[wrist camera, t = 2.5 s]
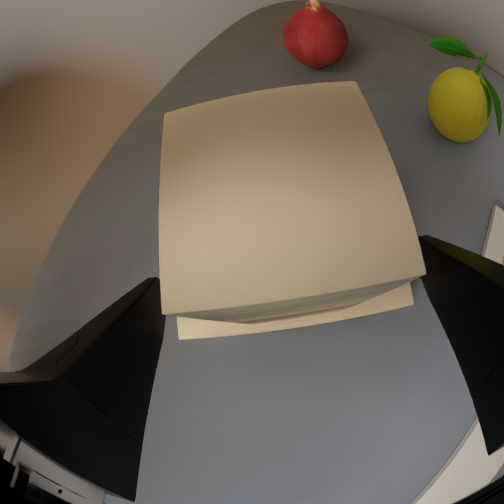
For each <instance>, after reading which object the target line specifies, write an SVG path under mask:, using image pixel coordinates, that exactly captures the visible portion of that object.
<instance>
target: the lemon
mask: <svg viewBox="0 0 504 504" xmlns="http://www.w3.org/2000/svg"><path fill="white" fill-rule="evenodd" d="M428 45H430V46H432V47H433V48H435V49H437V50H439V51H441V52H444V53H446V54H449V55H452V56H456V57H460V58H464V59H473V58H478V59H481V61H480V63H479V65H478V67H477V70H476V71H473V70H470V69H467V68H462V67H453V68H450V69H448V70H445V71H444V72H442V73H441V74H440V75H439V76H438V77H437V78H436V79H435V81H434V83H433V84H432V86H431V88H430V90H429V93H428V97H427V105H428V113H429V115H430V118H431V120H432V122H433V124H434V126H435V127H436V129H437V130H438V131H439V132H440V133H441V134H442V135H443V136H445V137H446V138H448V139H450V140H452V141H456V142H469V141H472V140H474V139H476V138H477V137H479V136H480V135H481V134H482V133H483V132H484V130H485V129H486V127H487V125H488V123H489V120H490V116H491V111H492V101H493V105H494V109H495V113H496V118H497V125H498V134H499V135H500V130H501V124H502V111H501V105H500V100H499V97H498V95H497V93H496V91H495V89H494V88H493V86H492V85H491V84H490V82H489V81H488V80H487V79H486V78H485V76H484V74H483V71H482V64H483V62H484V60H485V59H486V57H487V55H488V52H487V51H486V52H485V54H484V56H483V57H477V56H475V55H474V54H473V53H472V52H471V51H470V50H469V48H468V47H467V46H466V45H465V44H464V43H463V42H461V41H460V40H458V39H456V38H454V37H451V36H442V37H438V38H436V39H434V40H432V41H431V42H430V43H429V44H428ZM480 69H481V72H482V75H483V77H484V80H485V82H486V83H485V82H484V81H483V79H481V76H480V74H479V71H480ZM491 98H492V99H491Z"/></svg>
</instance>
